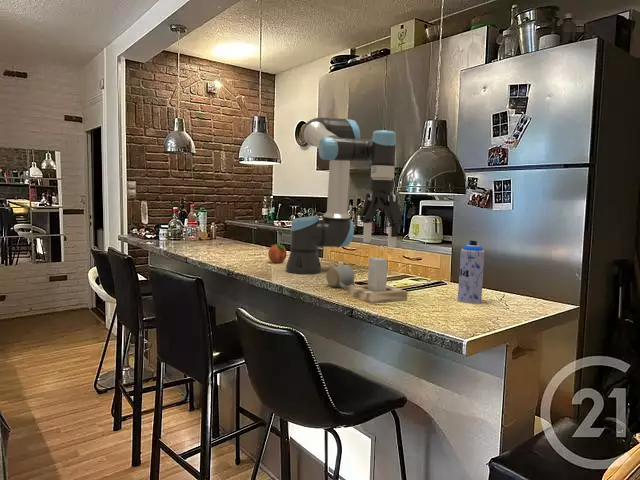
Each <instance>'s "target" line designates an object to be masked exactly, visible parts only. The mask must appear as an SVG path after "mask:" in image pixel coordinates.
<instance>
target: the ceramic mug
mask: <svg viewBox="0 0 640 480" xmlns="http://www.w3.org/2000/svg"><path fill="white" fill-rule="evenodd" d="M355 276H356V275H355V272H354V269H353V268H352V266H351V265H348V264H344V265H338V266H334V267H331V268H330V269H328V270H327V271H326V275H325V277H326V281H327V283H328V285H329V286H330V287H332V288H340V287H341V288H342V289H345V290H348V286H356V282H355Z"/></svg>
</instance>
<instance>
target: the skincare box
mask: <svg viewBox="0 0 640 480" xmlns="http://www.w3.org/2000/svg"><path fill="white" fill-rule="evenodd" d="M388 262H389V261H388V259H385V258H382V257H369V258H368V272H367V285H368V290H370V291H373V292H381V291H386V285H388V283H387V281H388Z"/></svg>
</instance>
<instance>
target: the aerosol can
mask: <svg viewBox="0 0 640 480" xmlns="http://www.w3.org/2000/svg"><path fill="white" fill-rule="evenodd" d="M459 255H460V260H459V275H458V277H459V278H458V289H457V298H456V300H457V301H458V302H460V303H465V304H473V305H474V304H481V303H482V302H483V300H482V297H483V295H482V293H483V282H484V281H483V279H484V266H485V250H484V249H483V247H482V246H480V245H479V244H478V241H477V240H469V243H467V245H464V246H463V248H461V251H460V254H459Z"/></svg>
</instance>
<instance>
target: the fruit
mask: <svg viewBox="0 0 640 480" xmlns="http://www.w3.org/2000/svg"><path fill="white" fill-rule="evenodd" d="M286 258H287V250H286V247H285V245H283V244H279V241H276V243H275V244H269V249H268V259H269V261H270V262H272V263H274V264H281V263H283V262H284V261H285V260H286Z"/></svg>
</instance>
